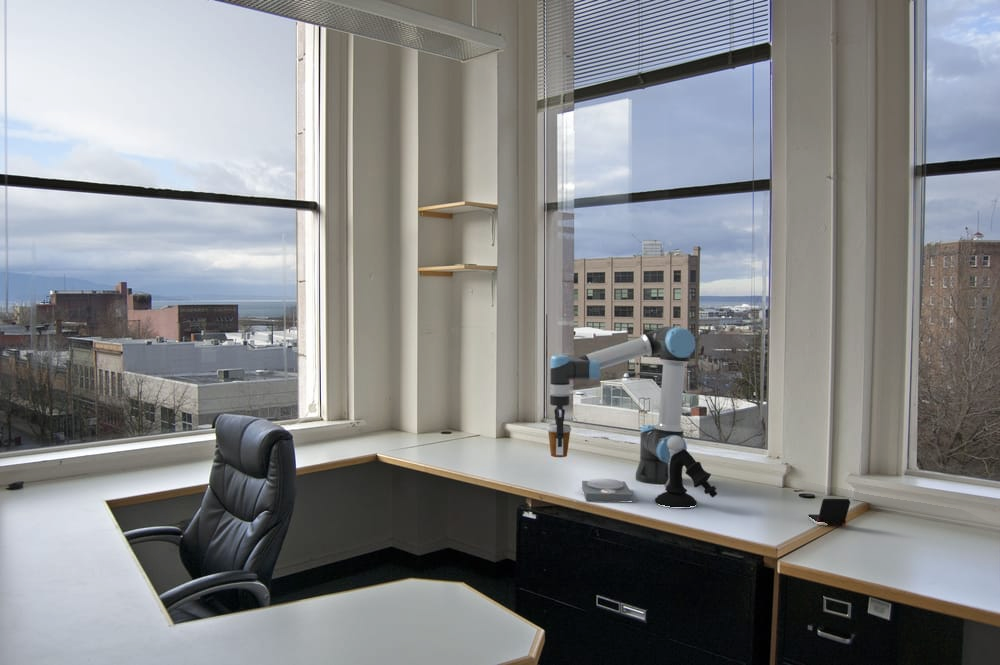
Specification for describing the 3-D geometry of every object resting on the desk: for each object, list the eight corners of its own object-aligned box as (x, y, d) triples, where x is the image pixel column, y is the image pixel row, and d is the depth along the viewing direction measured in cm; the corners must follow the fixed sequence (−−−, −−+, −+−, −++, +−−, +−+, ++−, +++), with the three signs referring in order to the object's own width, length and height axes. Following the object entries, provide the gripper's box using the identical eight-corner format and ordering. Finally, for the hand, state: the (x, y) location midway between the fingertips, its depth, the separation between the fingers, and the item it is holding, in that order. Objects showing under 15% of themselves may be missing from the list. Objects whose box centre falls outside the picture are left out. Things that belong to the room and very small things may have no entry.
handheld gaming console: (833, 518, 261) (834, 490, 261) (850, 529, 249) (851, 499, 249) (807, 518, 261) (807, 490, 261) (822, 528, 249) (823, 499, 249)
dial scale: (624, 489, 299) (624, 479, 299) (632, 502, 279) (632, 491, 279) (581, 488, 299) (582, 478, 299) (586, 501, 279) (586, 490, 279)
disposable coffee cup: (551, 458, 289) (551, 427, 288) (543, 454, 298) (543, 423, 297) (574, 457, 291) (575, 426, 291) (566, 452, 300) (566, 423, 300)
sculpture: (667, 495, 289) (669, 431, 288) (725, 507, 273) (727, 439, 272) (647, 503, 278) (648, 436, 277) (706, 516, 262) (708, 445, 261)
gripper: (549, 391, 304) (548, 447, 305) (551, 398, 283) (550, 457, 284) (567, 391, 304) (567, 447, 305) (570, 398, 283) (570, 458, 284)
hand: (559, 452), depth 294 cm, fingers closed on disposable coffee cup, 8 cm apart
